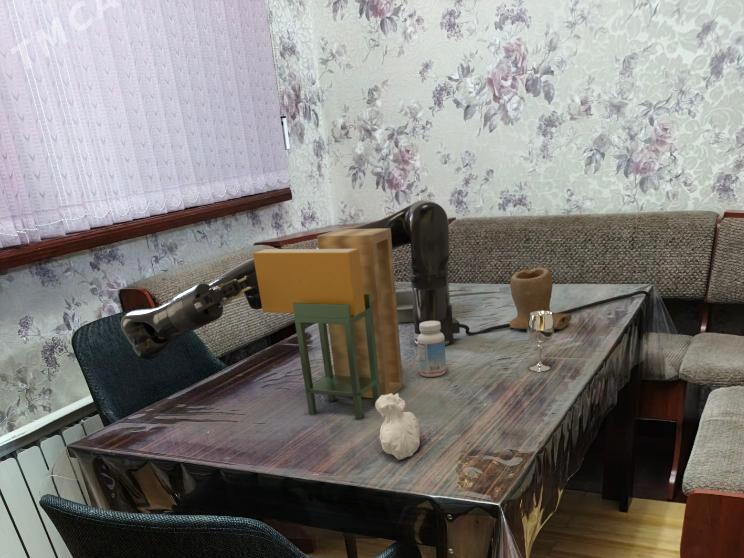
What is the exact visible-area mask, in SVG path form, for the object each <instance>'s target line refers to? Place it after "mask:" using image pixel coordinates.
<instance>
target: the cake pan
mask: <svg viewBox="0 0 744 558" xmlns="http://www.w3.org/2000/svg"><path fill="white" fill-rule="evenodd" d="M396 303H397V315H398V324H404V323H414V314H413V300H412V289H409V290H397V291H396Z"/></svg>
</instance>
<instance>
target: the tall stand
mask: <svg viewBox="0 0 744 558" xmlns="http://www.w3.org/2000/svg"><path fill="white" fill-rule="evenodd" d="M316 240H317V246H318V248H319V249H359V252H360V262H361V272H362V281H363V291H364V294H370V297H371V307H372V313H373V324H374V334H375V344H376V354H377V365H378V375H379V385H380V395H388V394H391V393H392V394H393V395H395V394H397V393H398V392H399V391H401V389H403V388H404V378H403V365H402V355H401V342H400V341H401V340H400V328H399V323H398V315H397V303H396V292H397V291H396V279H395V267H394V265H395V264H394V255H393V250H392V240H391V228H385V229H352V228H347V229H346V228H345V229H344V228H343V229H341V228H338V229H335V230H332V231H328V232H325V233H322V234H319V235H317V236H316ZM327 325H328V332H329V342H330V348H331V349H330V350H331V357H332V365H333V370H334V372H333V373H334V375H340V376H350V369H349V361H348V352H347V344H346V335H345V327H344V324H327ZM353 330H354V339H355V348H356V357H357V366H358V375H359V377H366V378H371V374H370V365H369V355H368V345H367V336H366V326H365V317H363V318H361V319H359V320H357V321H355V322H354V323H353ZM361 398H367V399H373V394H372V388H370V389H369V390H367V391H366V392H364V393H363V394H362V395H361Z"/></svg>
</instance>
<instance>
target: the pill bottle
mask: <svg viewBox="0 0 744 558" xmlns="http://www.w3.org/2000/svg"><path fill="white" fill-rule="evenodd" d="M419 328H420V329H419V330H420V332H421V334H420V335H419V336H418V338H417V344H418V346H417V356H418V366H419V367H418V369H419V374H420V375H421V376H422V377H425V378H434V377H440V376H443V375H445V374H446V372H447V359H446V358H447V357H446V345H445V339H444V335H443V333H441V332H440V330H441V329H440V328H441V324H440V322H439V321H425V322H422V323H420V324H419Z"/></svg>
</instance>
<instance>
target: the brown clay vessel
mask: <svg viewBox="0 0 744 558" xmlns="http://www.w3.org/2000/svg"><path fill="white" fill-rule="evenodd" d="M509 287H510V288H509V289H510V293H511V299H512V300H513V302H514V306H515V308H516V317H514V318H513V319H512V320H510V321H509V322H508V324H509V325H510V327H509V328H511V329H515V330H527V324H528V319H529V315H530V313H531V312H535V311H550V312H552V310H551V306H550V305H551V299H552V293H553V276H552V273H551V271H549V269H548V268H545V267H534V268H532V269H523V270H520V271H517V272H516V273H514V274H513V275H511V278H510V281H509ZM552 316H553V321H554V330H563V329H564V328H565V327H566V326H567V325H568V324H569V323H570V321H571V320H572V314H571V313H568V314H559V313H558V312H552Z"/></svg>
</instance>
